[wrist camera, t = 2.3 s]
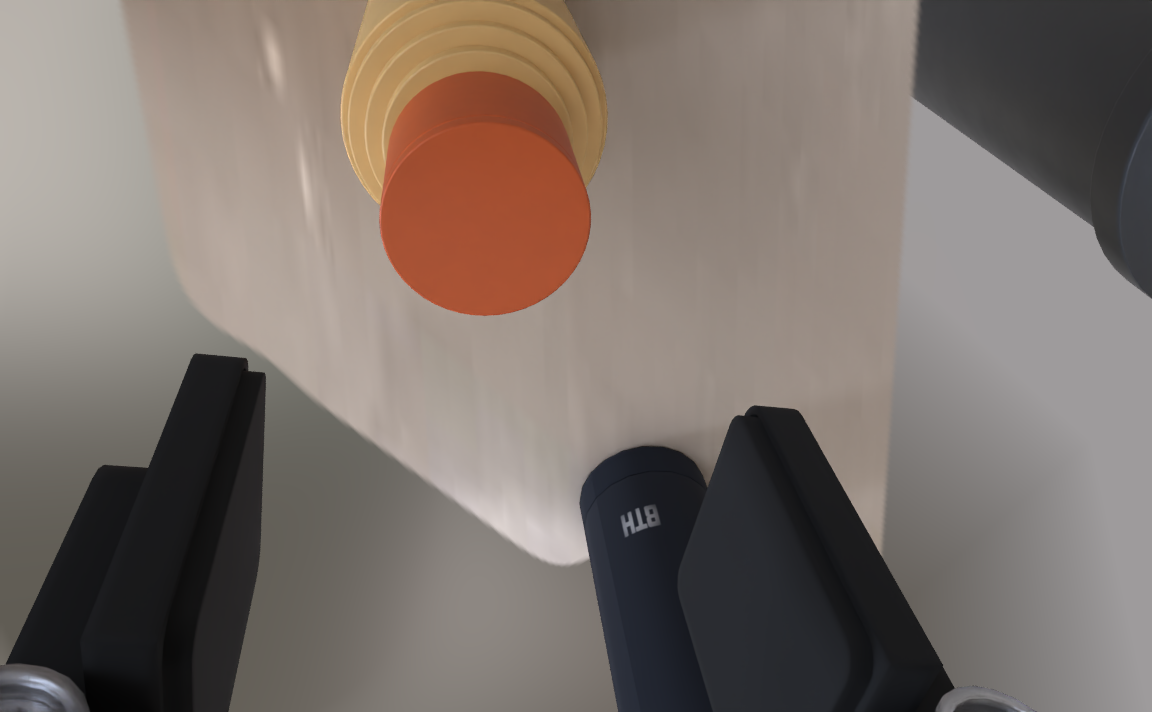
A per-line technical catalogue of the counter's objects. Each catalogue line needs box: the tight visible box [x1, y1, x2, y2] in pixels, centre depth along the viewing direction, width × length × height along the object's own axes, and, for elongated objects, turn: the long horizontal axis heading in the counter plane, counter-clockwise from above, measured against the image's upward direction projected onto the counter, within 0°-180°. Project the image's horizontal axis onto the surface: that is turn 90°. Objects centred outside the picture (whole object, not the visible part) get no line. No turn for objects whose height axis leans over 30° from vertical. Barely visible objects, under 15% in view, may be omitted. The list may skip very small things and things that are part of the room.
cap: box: [379, 71, 591, 316], centre depth 19 cm, size 4×4×3 cm
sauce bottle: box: [341, 0, 608, 205], centre depth 26 cm, size 6×6×18 cm
